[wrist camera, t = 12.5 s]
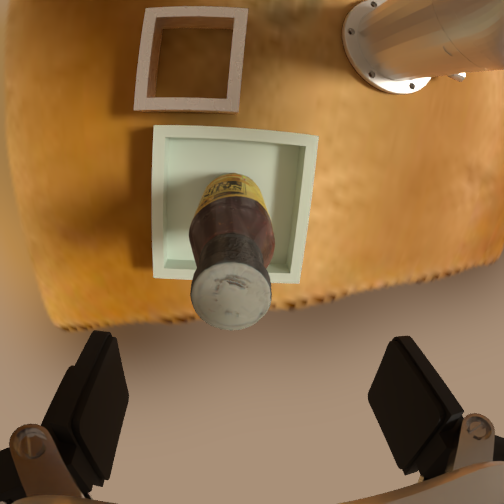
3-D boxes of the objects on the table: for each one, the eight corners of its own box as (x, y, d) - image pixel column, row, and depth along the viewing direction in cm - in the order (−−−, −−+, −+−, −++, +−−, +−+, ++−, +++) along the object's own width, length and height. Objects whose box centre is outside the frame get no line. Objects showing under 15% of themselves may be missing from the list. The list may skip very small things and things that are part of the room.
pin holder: (245, 21, 27) (248, 8, 24) (236, 114, 31) (238, 112, 27) (153, 20, 26) (145, 8, 22) (143, 112, 30) (133, 110, 26)
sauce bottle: (234, 158, 32) (247, 199, 14) (273, 202, 34) (328, 292, 16) (188, 200, 33) (145, 289, 15) (227, 241, 35) (231, 363, 17)
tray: (309, 135, 33) (318, 136, 29) (292, 270, 38) (299, 283, 35) (160, 125, 31) (153, 125, 28) (159, 264, 37) (153, 277, 33)
